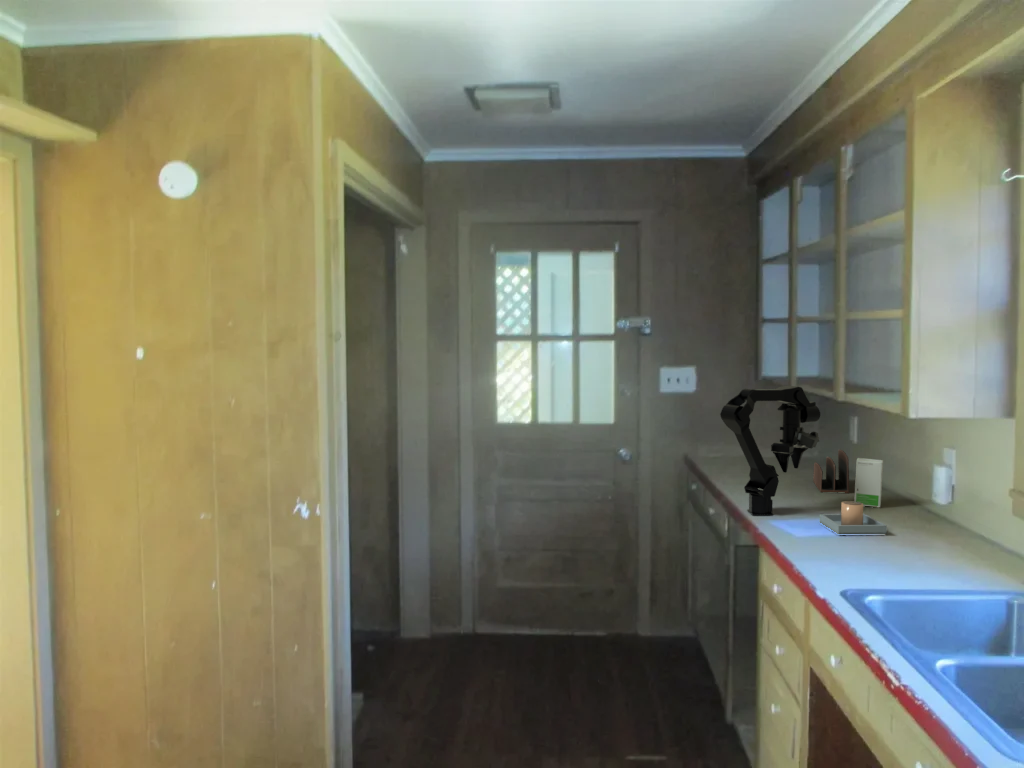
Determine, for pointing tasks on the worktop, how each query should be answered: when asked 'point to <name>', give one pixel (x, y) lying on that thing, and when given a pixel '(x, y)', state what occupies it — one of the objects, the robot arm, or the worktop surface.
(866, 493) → the skincare box
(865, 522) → the tray
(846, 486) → the letter holder
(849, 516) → the terracotta cup
